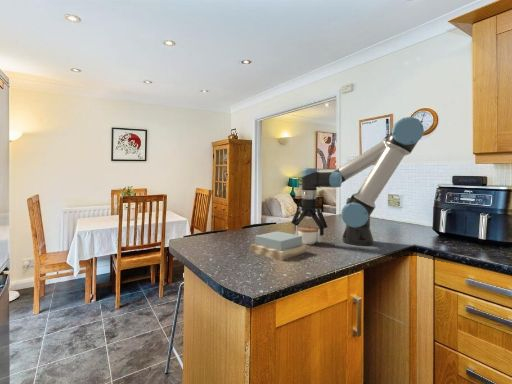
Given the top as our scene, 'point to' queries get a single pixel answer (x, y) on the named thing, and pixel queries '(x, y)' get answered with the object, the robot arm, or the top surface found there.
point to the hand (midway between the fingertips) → (308, 239)
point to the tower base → (276, 253)
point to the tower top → (278, 240)
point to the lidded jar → (308, 234)
